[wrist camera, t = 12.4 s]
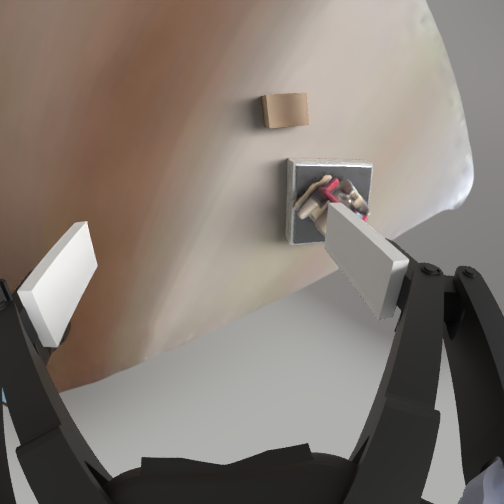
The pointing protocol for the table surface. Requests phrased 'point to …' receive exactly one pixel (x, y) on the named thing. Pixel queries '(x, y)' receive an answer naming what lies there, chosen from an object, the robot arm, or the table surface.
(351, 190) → the brake caliper
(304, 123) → the brown rectangular block
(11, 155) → the table surface
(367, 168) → the stand
